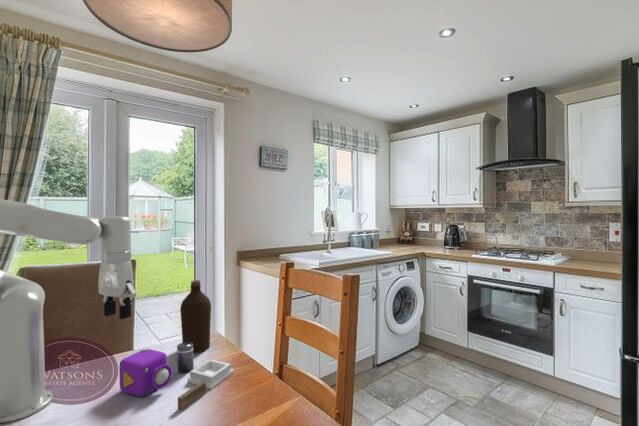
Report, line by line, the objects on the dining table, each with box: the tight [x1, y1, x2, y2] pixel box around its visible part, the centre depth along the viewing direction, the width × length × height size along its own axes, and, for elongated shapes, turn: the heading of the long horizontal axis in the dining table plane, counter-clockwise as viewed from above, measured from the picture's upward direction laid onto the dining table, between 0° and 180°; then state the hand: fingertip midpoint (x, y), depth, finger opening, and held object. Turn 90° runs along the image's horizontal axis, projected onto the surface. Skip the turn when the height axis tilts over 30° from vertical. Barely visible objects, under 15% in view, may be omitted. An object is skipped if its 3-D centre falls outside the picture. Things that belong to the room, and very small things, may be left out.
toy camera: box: [118, 347, 173, 398], centre depth 92 cm, size 11×14×10 cm
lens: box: [176, 342, 195, 374], centre depth 103 cm, size 5×5×8 cm
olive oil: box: [179, 279, 212, 354], centre depth 118 cm, size 11×11×25 cm
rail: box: [177, 381, 207, 411], centre depth 86 cm, size 2×8×3 cm, turn 157°
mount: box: [187, 358, 234, 390], centre depth 98 cm, size 9×10×3 cm
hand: (117, 315), depth 96 cm, fingers open, 6 cm apart
